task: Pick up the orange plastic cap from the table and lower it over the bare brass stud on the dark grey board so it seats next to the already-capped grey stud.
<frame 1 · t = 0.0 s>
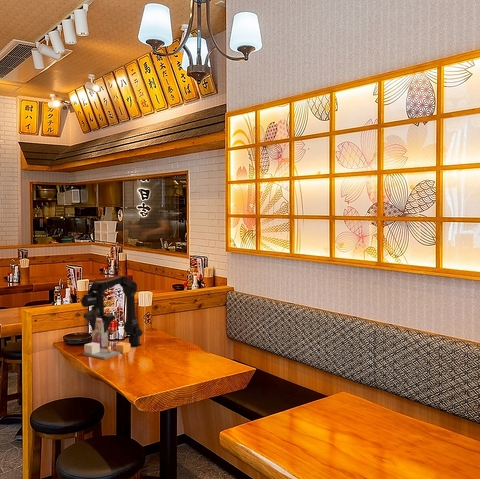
hand: (99, 331, 280), 15 cm above the table, tool pointing down, fingers open, 9 cm apart
candy bar box: (99, 345, 305), on the table
board: (101, 354, 286), on the table
orange cap: (123, 351, 292), on the table
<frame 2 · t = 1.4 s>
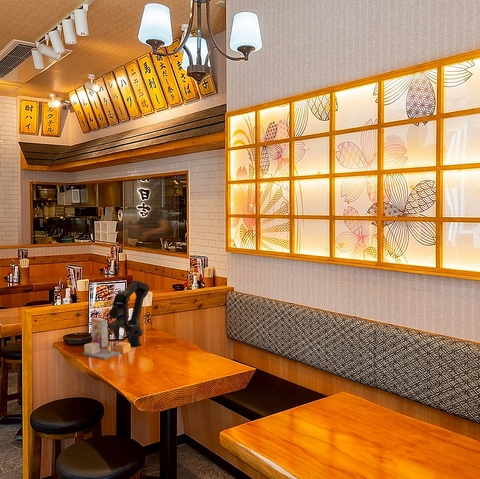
hand: (123, 340, 291), 6 cm above the table, tool pointing down, fingers open, 9 cm apart
nothing on the table moved.
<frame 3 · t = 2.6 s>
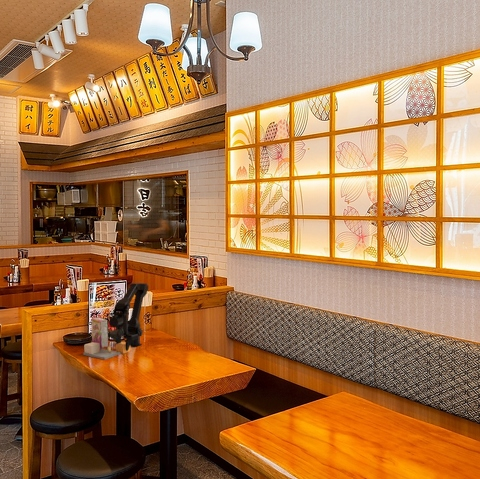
hand: (123, 349, 292), 1 cm above the table, tool pointing down, fingers closed on orange cap, 6 cm apart
orange cap: (123, 351, 292), on the table, touching gripper
everything else where it was.
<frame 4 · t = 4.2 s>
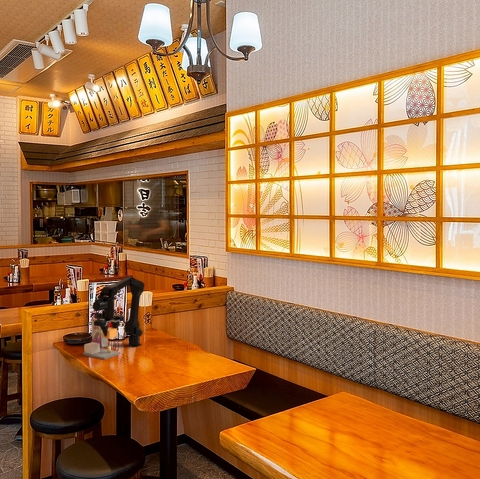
hand: (109, 335, 285), 11 cm above the table, tool pointing down, fingers closed on orange cap, 6 cm apart
orange cap: (109, 337, 285), point 10 cm above the table, touching gripper
everything else where it was.
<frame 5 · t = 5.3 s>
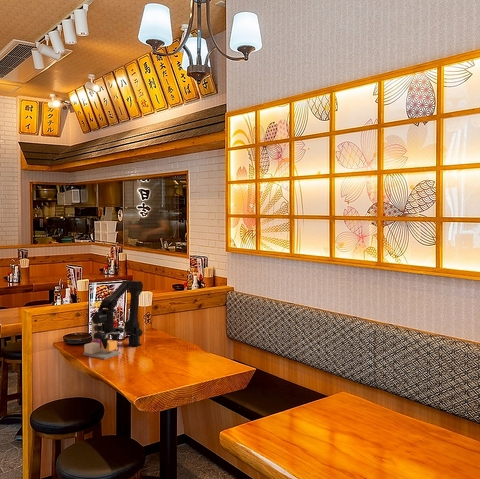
hand: (109, 347, 285), 4 cm above the table, tool pointing down, fingers closed on orange cap, 6 cm apart
orange cap: (109, 349, 286), point 3 cm above the table, touching gripper
everything else where it was.
when the fingers open (3 cm above the table, at t = 5.9 s): orange cap stays where it is, resting on board.
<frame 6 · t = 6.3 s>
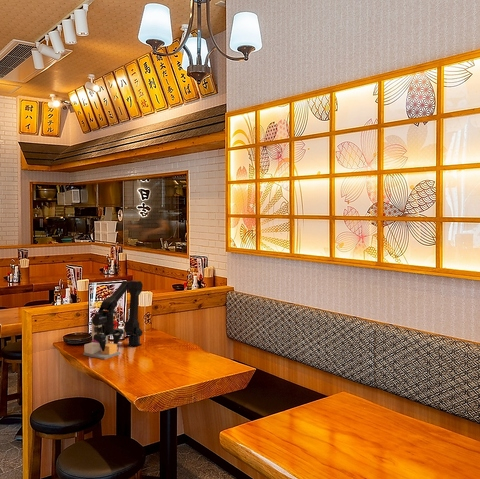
hand: (109, 349, 286), 3 cm above the table, tool pointing down, fingers open, 9 cm apart
orange cap: (109, 352, 286), point 1 cm above the table, touching board
everything else where it was.
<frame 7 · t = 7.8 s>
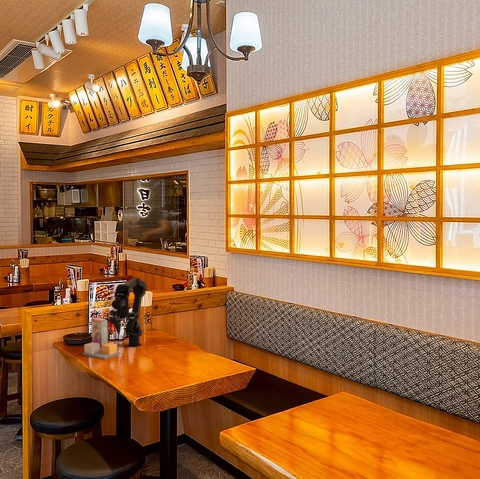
hand: (124, 332, 290), 12 cm above the table, tool pointing down, fingers open, 9 cm apart
nothing on the table moved.
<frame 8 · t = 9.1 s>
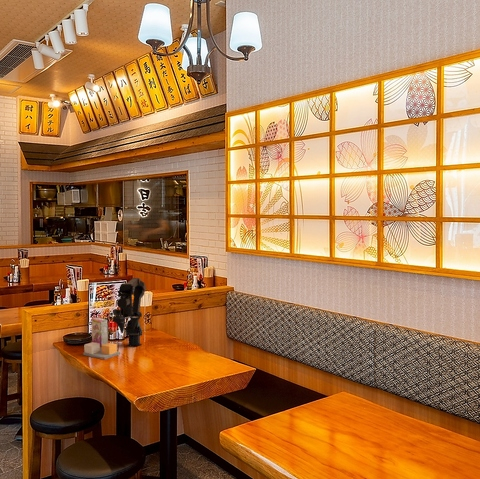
hand: (127, 331, 291), 12 cm above the table, tool pointing down, fingers open, 9 cm apart
nothing on the table moved.
at the end: orange cap 0.1 cm from the target spot on the board, point 1.2 cm above the board's base; the gripper is holding nothing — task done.
